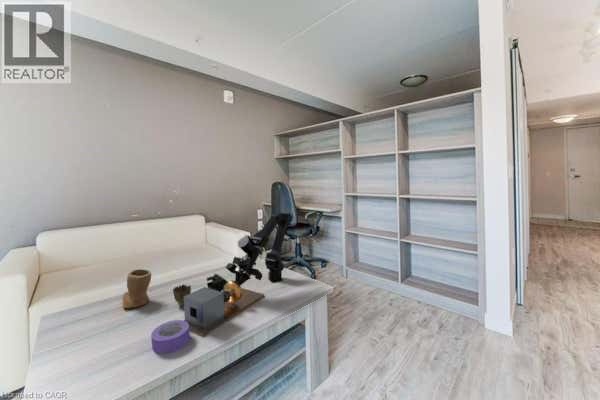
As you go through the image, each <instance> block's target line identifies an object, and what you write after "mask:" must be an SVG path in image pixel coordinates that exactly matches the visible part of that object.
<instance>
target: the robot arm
mask: <svg viewBox="0 0 600 400" xmlns="http://www.w3.org/2000/svg"><path fill="white" fill-rule="evenodd" d="M292 221H293V215H292V213H290V212H281V211H280V212H279V213H277V212H276V213H275V212H273V213H272V214H271V216H270V217H269V219H268V221H266V224H265V225H263V227H262V229H261V230H259V231H258V232H256V233H255V234H254V235H253V236H252V237H250V235H247V234H245V235H244V236H243V237H241V238H240V239H239V240H237V246H238V248H240V250H241V251H242V252H244V253H245V255H242V257H239V256H238V257H237V256H234V257H233V259H232V263H231V262H229V263H227V265H226V266H225V269H227V270H228V271H229V272H230V273H231V274H235V276H234V277H235V278H234V279H235V280H234V281H236V282H237V283H238V284H239V285H240V286H242V285H243V284H245V283H247V281H249V280H251V279H252V277H251V276H254V278H255V279H256V280H259V281H261V280H262V278H263V273H262V272H261V271H260V270H259V269H258V268H257V269H256V268H254V266H256V265H257V260H258V257H259V256H262V255H263V252H262V249H264V248H265V247H266V246H267V245H268V243H269V241H270V235H271V234H272V232H273V230H275V228H276V226H277V228H276V229H277V230H276V233H275V237H274V240H273V241H274V242H273V244H272V248H271V251H270V252H267V253H266V257H265V259H264V264H265V267H266V269H267V270H268V277H267V279H268V280H269V281H270V282H271V283H276V282H281V281H283V280H284V279H283V277H282V273H283V272H282V271H283V270H284V269H285V264H284V263H283V262H282V258H283V257H282V255H281V251H282V247H283V243H284V240H285V235H286V231H287V229H288V228H289V226H291V224H292Z"/></svg>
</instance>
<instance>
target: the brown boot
mask: <svg viewBox="0 0 600 400" xmlns="http://www.w3.org/2000/svg"><path fill="white" fill-rule="evenodd" d="M151 279H152V272H151V271H150V270H149V269H143V268H138V269H137V268H136V269H133V270H131V271H129V273H128V274H127V279H126V287H127V291H126V292H124V293H123V295H122V302H121V303H122V307H123V308H125V309H131V308H136V307H140V306H143V305H145V304H147V302H148V299H149V298H148V297H149V296H148V294H147V293H148V292H147V291H148V288H149V285H150V283H151Z"/></svg>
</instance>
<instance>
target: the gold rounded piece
mask: <svg viewBox="0 0 600 400" xmlns="http://www.w3.org/2000/svg"><path fill="white" fill-rule="evenodd" d="M227 282H228V283H226V284H225V285H224V289H223V290H222V291H220V292H223V298H224V303H225V302H227V301H229V302H232V303H233V302H236V301H237V300H239V299H240V298H241V297H242V287H241V286H242V285H241V286H240V285H239V284H238V283H237V282H236V281H235V280H230V281H227Z"/></svg>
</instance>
